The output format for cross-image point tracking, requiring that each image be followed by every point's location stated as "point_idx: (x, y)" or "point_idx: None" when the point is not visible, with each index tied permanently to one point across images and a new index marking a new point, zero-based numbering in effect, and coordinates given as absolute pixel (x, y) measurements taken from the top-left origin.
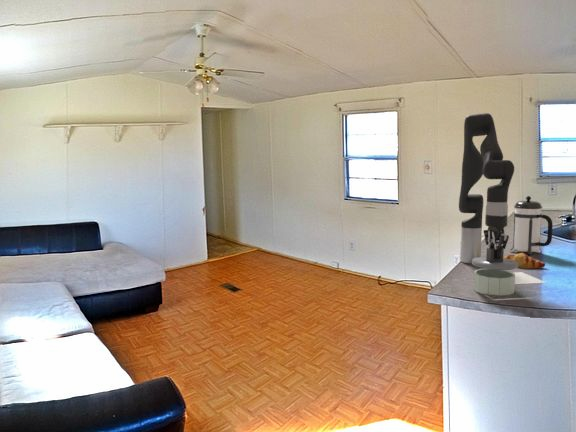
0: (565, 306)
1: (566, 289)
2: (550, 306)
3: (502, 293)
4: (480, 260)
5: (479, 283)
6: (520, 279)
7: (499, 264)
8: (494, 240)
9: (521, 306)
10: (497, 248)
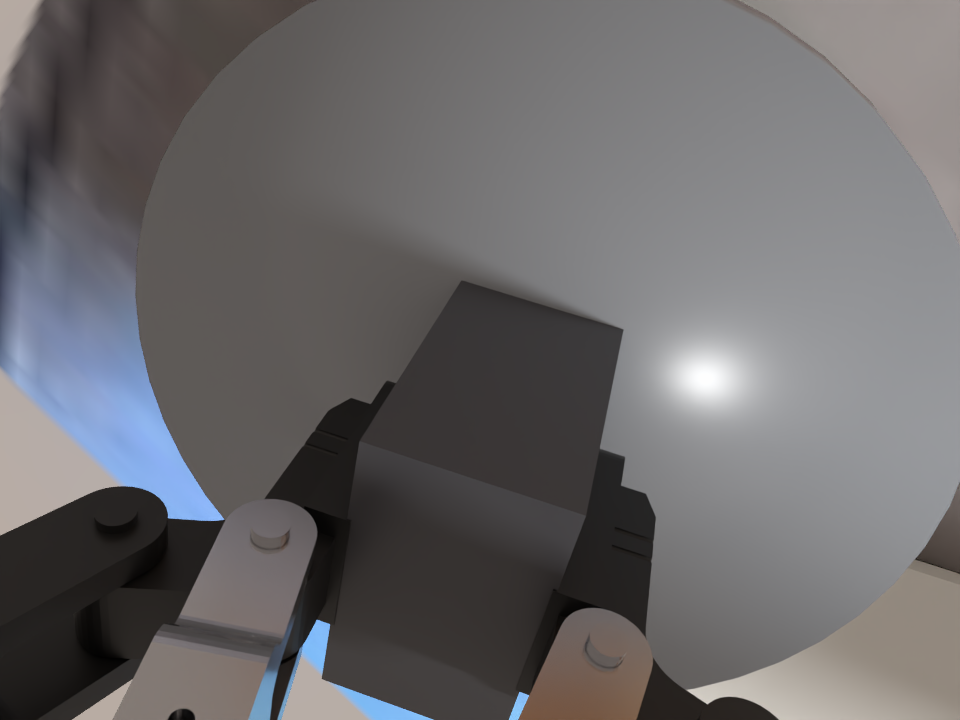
0: (54, 386)
1: (384, 703)
2: (61, 294)
3: None
4: (721, 261)
5: None
6: (716, 683)
7: (300, 318)
8: (130, 708)
9: (80, 62)
10: (228, 544)
